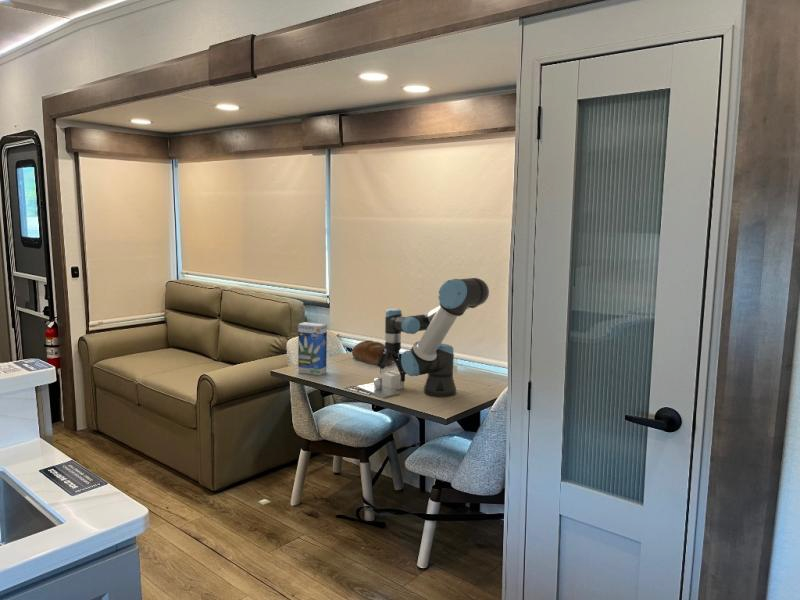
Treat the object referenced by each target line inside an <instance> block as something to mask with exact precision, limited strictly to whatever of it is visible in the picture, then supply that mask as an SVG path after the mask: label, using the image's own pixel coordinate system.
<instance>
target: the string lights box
mask: <svg viewBox="0 0 800 600" xmlns="http://www.w3.org/2000/svg"><path fill="white" fill-rule="evenodd" d="M327 330H328V324H326V323H318V322H308V321H304V322H300V323H298V333H297V334H298V335H297V336H298V337H297V338H298V345H297V346H298V347H297V348H298V357H297V358H298V360H297V361H298V365H297V366H298V367H297V369H298V370H297V371H298V373H300V374H308V375H315V376H321V375H324V374H326V373H327V356H328V355H327V348H328V347H327V344H328V342H327V341H328V339H327V338H328V337H327V335H328V331H327Z"/></svg>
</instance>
